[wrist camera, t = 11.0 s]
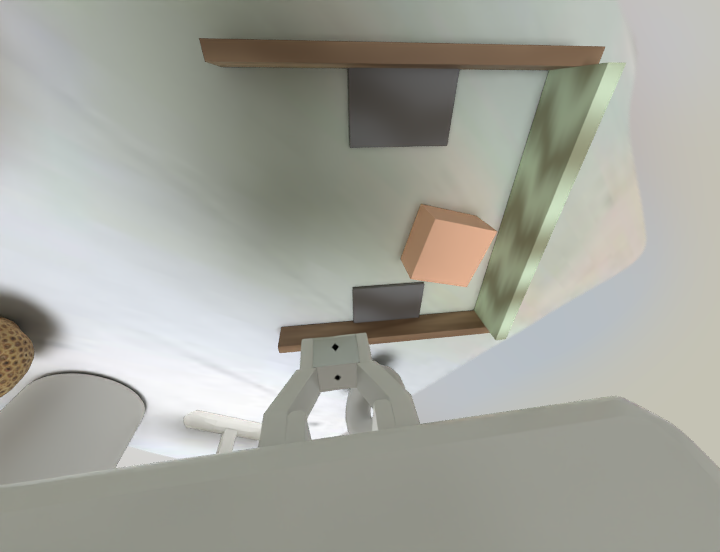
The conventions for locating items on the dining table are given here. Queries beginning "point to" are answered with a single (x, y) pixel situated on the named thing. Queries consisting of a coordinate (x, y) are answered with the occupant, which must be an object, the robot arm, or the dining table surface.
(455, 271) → the terracotta block
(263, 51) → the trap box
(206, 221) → the dining table surface
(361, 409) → the donut
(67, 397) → the cylinder vase
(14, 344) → the natural sponge
